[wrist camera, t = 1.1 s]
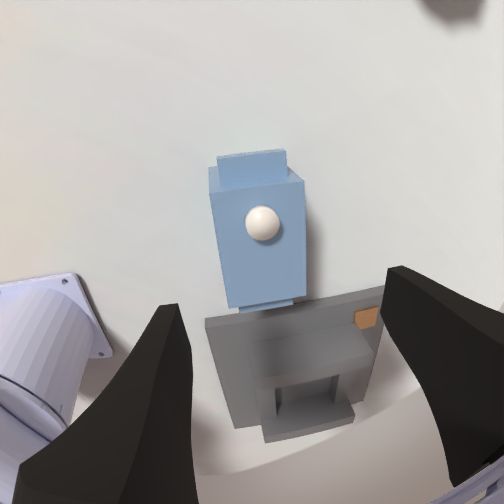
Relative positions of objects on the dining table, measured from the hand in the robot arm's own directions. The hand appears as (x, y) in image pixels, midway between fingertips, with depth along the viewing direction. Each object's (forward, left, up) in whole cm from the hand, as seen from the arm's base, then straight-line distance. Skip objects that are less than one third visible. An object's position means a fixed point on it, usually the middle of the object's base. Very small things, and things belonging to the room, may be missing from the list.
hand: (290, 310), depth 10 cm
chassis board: (+3, -15, -9) cm, 18 cm away
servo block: (0, 0, -10) cm, 10 cm away
